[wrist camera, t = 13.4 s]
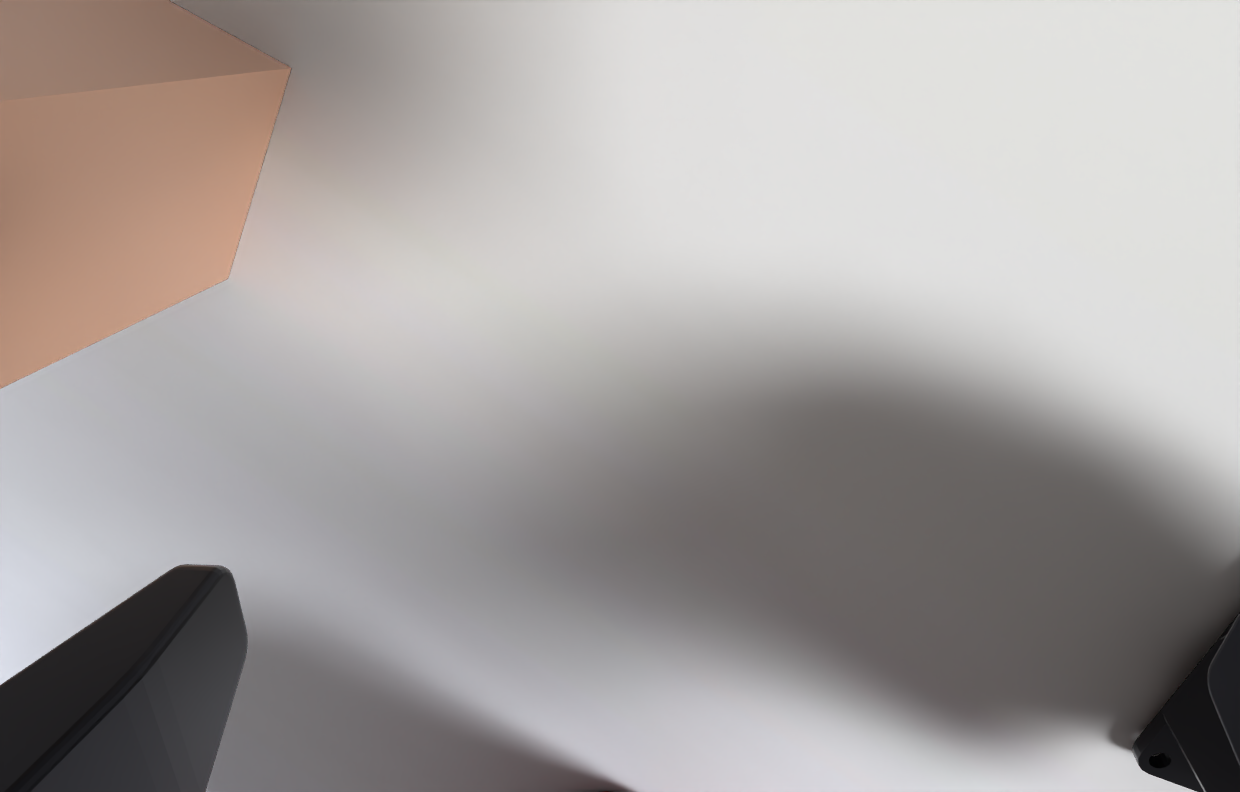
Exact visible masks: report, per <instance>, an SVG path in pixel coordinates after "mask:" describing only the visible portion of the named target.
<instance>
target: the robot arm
mask: <svg viewBox="0 0 1240 792" xmlns="http://www.w3.org/2000/svg"><path fill="white" fill-rule="evenodd" d="M247 643H248V640H247V630H246V626H245V622H244V618H243V613H242V609H241V605H240V601H239V597H238V593H237V589H236V584H235V580H234V578H233V575H232V573H231V572H230V570H229V569H227V568H226V567H223V566H219V565H192V564H185V565H179V566H177V567H175V568H173V569H171V570H169V571H168V572H166V573H165V574H163V575H162V576H160V577H159V578H157V579H156V580H154V581H153V582H152V583H150V584H149V585H147V586H146V587H144V588H143V589H141V590H140V591H138V592H137V593H135V594H134V595H132V596H131V597H129V598H128V599H126V600H125V601H124V602H122V603H121V604H119V605H118V606H116V607H115V608H113V609H112V610H110V611H109V612H107V613H106V614H104V615H103V616H101V617H100V618H98V619H97V620H95V621H94V622H93V623H91V624H90V625H88V626H87V627H85V628H84V629H82V630H81V631H79V632H78V633H76V634H75V635H73V636H72V637H70V638H69V639H67V640H66V641H64V642H63V643H62V644H60V645H59V646H57V647H56V648H54V649H53V650H51V651H50V652H48V653H47V654H45V655H44V656H42V657H41V658H39V659H38V660H36V661H35V662H34V663H32V664H31V665H29V666H28V667H26V668H25V669H23V670H22V671H20V672H19V673H17V674H16V675H14V676H13V677H11V678H10V679H8V680H7V681H5V682H4V683H3V684H1V685H0V792H205V791H206V788H207V784H208V781H209V778H210V774H211V771H212V768H213V765H214V761H215V758H216V755H217V751H218V748H219V745H220V741H221V738H222V735H223V731H224V728H225V725H226V722H227V718H228V715H229V712H230V708H231V705H232V702H233V698H234V695H235V692H236V689H237V685H238V682H239V679H240V675H241V672H242V669H243V665H244V662H245V658H246V653H247ZM1132 749H1133V754H1134V756H1135V758H1136V761H1137V763H1138V765H1139V766H1140V768H1141V769H1142V770H1143V771H1145V772H1146V773H1148V774H1151V775H1153V776H1156V777H1159V778H1162V779H1164V780H1167V781H1170V782H1172V783H1175V784H1178V785H1181V786H1183V787H1186V788H1189V789H1192V790H1194V791H1197V792H1240V613H1239V615H1238V616H1237V617H1236V618H1235V620H1234V621H1233V622H1232V623H1231V624H1230V626H1229V627H1228V628H1227V629H1226V631H1225V632H1224V633H1223V634H1222V635H1221V637H1220V638H1219V639H1218V640H1217V642H1216V643H1215V644H1214V645H1213V647H1212V648H1211V649H1210V650H1209V651H1208V653H1207V654H1206V655H1205V656H1204V658H1203V659H1202V660H1201V661H1200V662H1199V664H1198V665H1197V666H1196V667H1195V669H1194V670H1193V671H1192V672H1191V674H1190V675H1189V676H1188V677H1187V678H1186V680H1185V681H1184V682H1183V683H1182V685H1181V686H1180V687H1179V688H1178V689H1177V691H1176V692H1175V693H1174V694H1173V696H1172V697H1171V698H1170V699H1169V701H1168V702H1167V703H1166V704H1165V705H1164V707H1163V708H1162V709H1161V710H1160V712H1159V713H1158V714H1157V715H1156V716H1155V718H1154V719H1153V720H1152V721H1151V723H1150V724H1149V725H1148V726H1147V728H1146V729H1145V730H1144V731H1143V732H1142V734H1141V735H1140V736H1139V737H1138V739H1137V740H1136V741H1135V743H1134V745H1133V747H1132ZM1157 753H1161V754H1160V755H1157V756H1152V755H1154V754H1157Z"/></svg>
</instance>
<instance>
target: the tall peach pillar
mask: <svg viewBox="0 0 1240 792" xmlns="http://www.w3.org/2000/svg"><path fill="white" fill-rule="evenodd" d="M290 71H291V68H290V67H289V66H287V65H285V64H283V63H281V62H280V61H278V60H276V59H274V58H272V57H271V56H269V55H267V54H265V53H263V52H261V51H260V50H258V49H256V48H254V47H252V46H251V45H249V44H247V43H245V42H243V41H241V40H240V39H238V38H236V37H234V36H232V35H231V34H229V33H227V32H225V31H223V30H222V29H220V28H218V27H216V26H214V25H212V24H211V23H209V22H207V21H205V20H203V19H202V18H200V17H198V16H196V15H194V14H192V13H191V12H189V11H187V10H185V9H183V8H182V7H180V6H178V5H176V4H174V3H173V2H171V1H169V0H0V389H1V388H3V387H5V386H7V385H9V384H11V383H13V382H15V381H17V380H19V379H21V378H23V377H25V376H28V375H30V374H32V373H34V372H36V371H38V370H40V369H42V368H44V367H46V366H48V365H50V364H52V363H54V362H57V361H59V360H61V359H63V358H65V357H67V356H69V355H71V354H73V353H75V352H77V351H79V350H81V349H83V348H86V347H88V346H90V345H92V344H94V343H96V342H98V341H100V340H102V339H104V338H106V337H108V336H110V335H112V334H115V333H117V332H119V331H121V330H123V329H125V328H127V327H129V326H131V325H133V324H135V323H137V322H139V321H141V320H144V319H146V318H148V317H150V316H152V315H154V314H156V313H158V312H160V311H162V310H164V309H166V308H168V307H170V306H173V305H175V304H177V303H179V302H181V301H183V300H185V299H187V298H189V297H191V296H193V295H195V294H197V293H199V292H202V291H204V290H206V289H208V288H210V287H212V286H214V285H216V284H218V283H220V282H222V281H224V280H226V279H228V277H229V274H230V270H231V267H232V264H233V260H234V257H235V254H236V250H237V247H238V244H239V241H240V237H241V234H242V231H243V227H244V224H245V221H246V217H247V214H248V211H249V207H250V204H251V201H252V197H253V194H254V191H255V187H256V184H257V181H258V178H259V174H260V171H261V168H262V164H263V161H264V158H265V154H266V151H267V148H268V144H269V141H270V138H271V134H272V131H273V128H274V124H275V121H276V118H277V114H278V111H279V108H280V105H281V101H282V98H283V95H284V91H285V88H286V85H287V81H288V78H289V75H290Z"/></svg>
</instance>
